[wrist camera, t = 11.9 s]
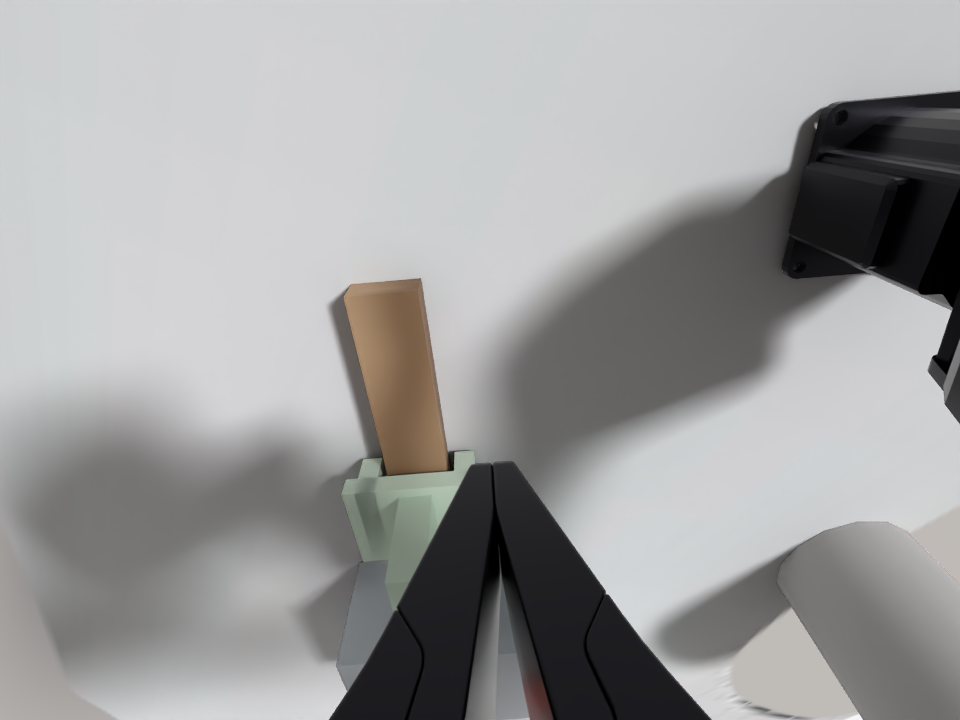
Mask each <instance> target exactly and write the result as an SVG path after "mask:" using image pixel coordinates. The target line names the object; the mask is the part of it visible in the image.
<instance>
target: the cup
mask: <svg viewBox="0 0 960 720" xmlns="http://www.w3.org/2000/svg"><path fill="white" fill-rule="evenodd" d="M776 583H777V585H778V586H779V588H780V589H781V591H782V592H783V594H784V596H785V597H786V599H787V600H788V602H789V603H790V605H791V607H792V608H793V610H794V611H795V613H796V614H797V616H798V618H799V619H800V621H801V622H802V624H803V626H804V627H805V629H806V630H807V632H808V633H809V635H810V637H811V638H812V640H813V641H814V643H815V644H816V646H817V647H818V649H819V651H820V652H821V654H822V656H823V657H824V659H825V660H826V662H827V663H828V665H829V667H830V668H831V670H832V671H833V673H834V674H835V676H836V678H837V679H838V681H839V682H840V684H841V686H842V687H843V689H844V690H845V692H846V693H847V695H848V697H849V698H850V700H851V701H852V703H853V704H854V706H855V708H856V709H857V711H858V712H859V714H860V715H861V717H862V719H863V720H960V583H959V582H958V581H957V580H956V579H955V578H954V577H953V576H952V575H951V574H950V573H949V572H948V571H947V570H946V569H945V568H944V567H943V566H942V565H941V564H940V563H939V562H938V561H937V560H936V559H935V558H934V557H933V556H932V555H931V554H930V553H928V552H927V550H926V549H925V548H924V547H923V546H922V545H921V544H920V543H919V542H917V540H916V539H914V537H912V536H911V534H910V533H909V532H908V531H906V530H904V529H902V528H899V527H897V526H895V525H893V524H891V523H889V522H854V523H850V524H847V525H843V526H840V527H836V528H832V529H829V530H825V531H823V532H821V533H820V534H818V535H816V536H814V537H813V538H811V539H809V540H807V541H806V542H804V543H802V544H801V545H799V546H797V547H796V548H795V549H794V550H793V552H792V553H791V554H790V555H789V556H788V557H787V558H786V559H785V560H784V562H783V563H782V564H781V565H780V568H779V573H778V578H777V582H776Z"/></svg>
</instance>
